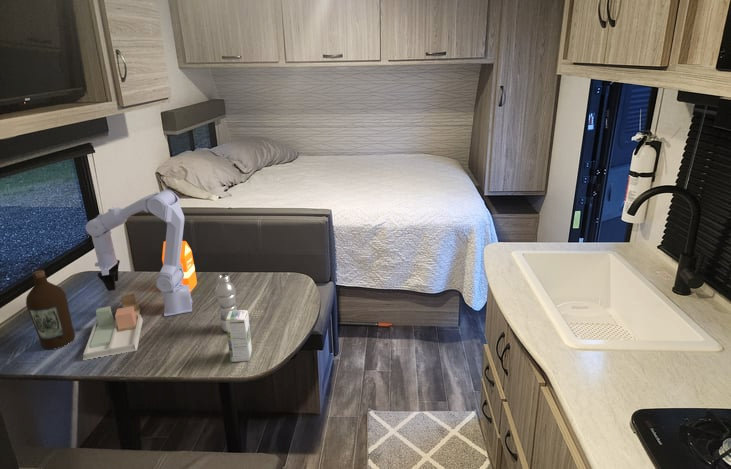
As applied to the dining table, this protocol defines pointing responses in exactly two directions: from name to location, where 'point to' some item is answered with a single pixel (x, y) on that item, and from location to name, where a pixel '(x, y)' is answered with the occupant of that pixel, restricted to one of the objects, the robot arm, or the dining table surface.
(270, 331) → the dining table surface
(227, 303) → the plastic bottle
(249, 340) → the syrup box
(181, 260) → the orange juice
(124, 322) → the block
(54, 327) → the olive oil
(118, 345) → the lane board
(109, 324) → the strip
